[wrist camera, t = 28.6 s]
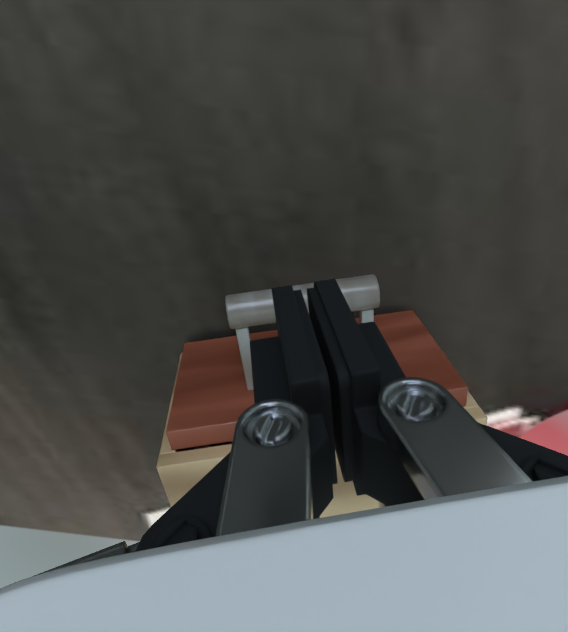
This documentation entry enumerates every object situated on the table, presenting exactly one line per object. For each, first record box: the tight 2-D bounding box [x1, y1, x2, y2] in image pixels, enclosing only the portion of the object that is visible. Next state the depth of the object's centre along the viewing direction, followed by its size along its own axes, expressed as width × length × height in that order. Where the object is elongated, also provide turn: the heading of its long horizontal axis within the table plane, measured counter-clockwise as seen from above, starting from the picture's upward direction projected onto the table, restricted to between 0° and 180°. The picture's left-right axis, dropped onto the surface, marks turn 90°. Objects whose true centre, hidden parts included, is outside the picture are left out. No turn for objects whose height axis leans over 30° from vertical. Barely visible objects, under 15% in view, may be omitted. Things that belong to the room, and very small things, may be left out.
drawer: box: [166, 274, 468, 450], centre depth 26 cm, size 19×14×8 cm
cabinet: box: [157, 352, 487, 518], centre depth 28 cm, size 15×16×10 cm
